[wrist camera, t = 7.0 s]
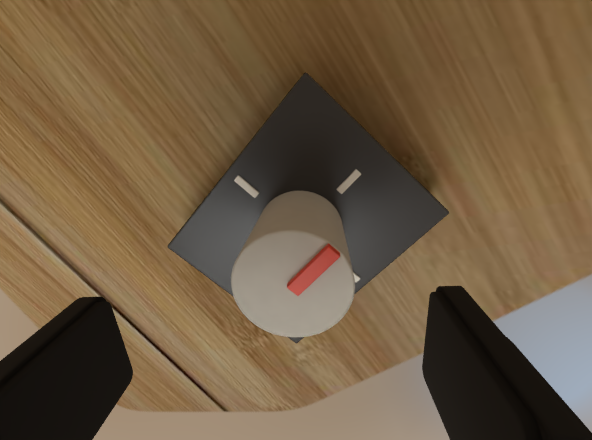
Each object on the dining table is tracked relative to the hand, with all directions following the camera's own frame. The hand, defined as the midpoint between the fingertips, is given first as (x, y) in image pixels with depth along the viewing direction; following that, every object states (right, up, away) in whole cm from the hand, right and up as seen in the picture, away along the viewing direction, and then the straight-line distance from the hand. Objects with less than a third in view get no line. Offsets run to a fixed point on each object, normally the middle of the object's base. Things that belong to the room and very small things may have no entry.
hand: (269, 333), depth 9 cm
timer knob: (+1, +3, +7) cm, 8 cm away
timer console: (+1, +4, +10) cm, 11 cm away
